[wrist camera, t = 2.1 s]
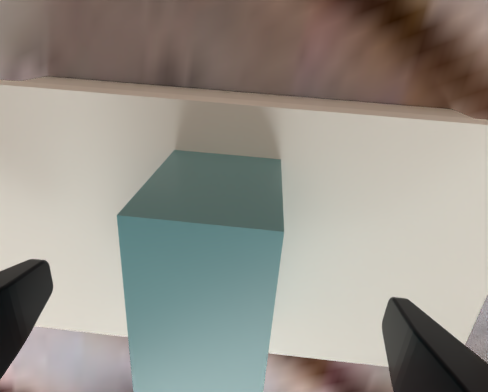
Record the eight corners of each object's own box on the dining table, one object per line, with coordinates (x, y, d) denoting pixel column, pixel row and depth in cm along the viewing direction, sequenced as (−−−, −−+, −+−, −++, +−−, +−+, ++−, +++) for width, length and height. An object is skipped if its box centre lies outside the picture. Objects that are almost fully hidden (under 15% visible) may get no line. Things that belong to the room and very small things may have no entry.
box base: (451, 109, 14) (516, 136, 10) (399, 278, 17) (433, 344, 13) (46, 76, 14) (-31, 90, 11) (73, 244, 18) (20, 298, 14)
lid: (539, 124, 10) (756, 196, 5) (442, 355, 13) (523, 511, 9) (-51, 75, 10) (-283, 104, 6) (11, 307, 14) (-107, 428, 10)
